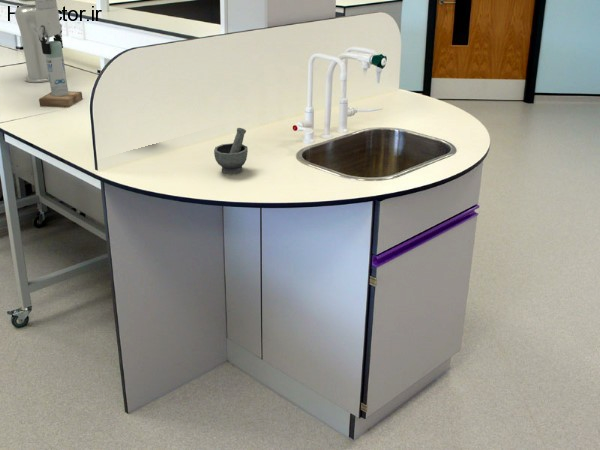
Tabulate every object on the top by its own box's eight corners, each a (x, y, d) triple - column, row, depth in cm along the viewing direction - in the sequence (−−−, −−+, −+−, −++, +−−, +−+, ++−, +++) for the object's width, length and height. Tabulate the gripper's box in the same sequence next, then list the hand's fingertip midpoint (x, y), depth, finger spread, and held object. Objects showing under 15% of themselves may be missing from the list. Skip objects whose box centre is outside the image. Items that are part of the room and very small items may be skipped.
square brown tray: (54, 98, 285) (53, 90, 284) (82, 99, 283) (81, 91, 282) (40, 106, 274) (38, 98, 273) (69, 107, 272) (68, 99, 271)
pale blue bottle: (71, 95, 277) (63, 43, 268) (54, 97, 273) (45, 45, 265) (66, 91, 282) (58, 40, 273) (49, 93, 278) (41, 42, 270)
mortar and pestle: (233, 179, 203) (230, 139, 197) (208, 172, 208) (206, 133, 202) (258, 167, 211) (256, 128, 206) (234, 161, 216) (232, 123, 211)
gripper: (47, 0, 271) (54, 45, 279) (24, 8, 256) (32, 56, 263) (66, 1, 270) (72, 46, 278) (44, 9, 255) (51, 56, 262)
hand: (53, 51), depth 271 cm, fingers open, 9 cm apart
